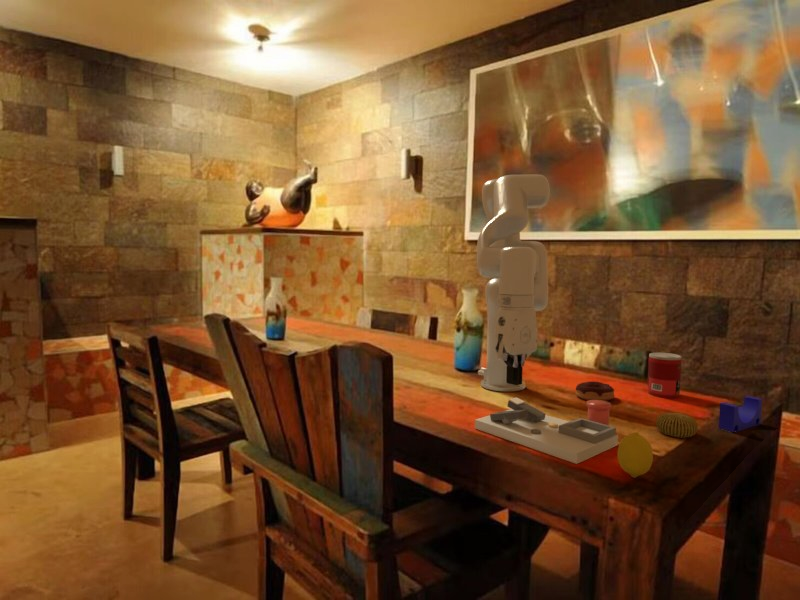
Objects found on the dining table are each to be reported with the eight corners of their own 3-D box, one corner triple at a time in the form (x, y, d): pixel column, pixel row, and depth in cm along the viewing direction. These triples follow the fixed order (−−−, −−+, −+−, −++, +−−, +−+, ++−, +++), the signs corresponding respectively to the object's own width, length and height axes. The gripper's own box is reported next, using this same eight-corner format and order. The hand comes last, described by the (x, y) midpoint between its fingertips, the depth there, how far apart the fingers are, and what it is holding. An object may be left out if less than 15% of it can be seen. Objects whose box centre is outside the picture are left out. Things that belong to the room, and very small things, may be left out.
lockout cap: (581, 429, 115) (582, 402, 115) (593, 424, 118) (594, 398, 118) (602, 435, 111) (603, 407, 111) (614, 430, 115) (615, 403, 114)
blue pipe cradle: (739, 419, 123) (741, 394, 123) (760, 424, 119) (762, 399, 119) (711, 427, 117) (713, 401, 116) (732, 433, 113) (734, 406, 113)
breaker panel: (474, 428, 115) (475, 412, 115) (517, 415, 125) (517, 400, 125) (576, 463, 96) (577, 445, 96) (617, 445, 106) (618, 428, 105)
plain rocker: (491, 425, 114) (489, 414, 114) (500, 422, 116) (498, 411, 116) (520, 423, 108) (518, 412, 108) (529, 420, 110) (527, 409, 110)
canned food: (683, 399, 140) (685, 358, 139) (651, 397, 141) (653, 357, 140) (674, 391, 147) (676, 353, 146) (644, 390, 149) (645, 351, 148)
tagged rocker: (506, 410, 118) (508, 399, 118) (514, 407, 120) (517, 397, 120) (535, 426, 113) (537, 415, 112) (543, 423, 114) (546, 412, 114)
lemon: (610, 471, 93) (612, 427, 92) (640, 470, 93) (642, 426, 93) (626, 485, 88) (628, 438, 87) (658, 484, 88) (660, 437, 87)
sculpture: (688, 424, 107) (649, 414, 113) (687, 443, 107) (648, 432, 114) (705, 416, 112) (666, 408, 118) (704, 435, 112) (666, 425, 118)
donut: (597, 392, 147) (598, 378, 147) (622, 401, 138) (623, 386, 137) (567, 394, 144) (567, 380, 144) (590, 404, 135) (591, 389, 134)
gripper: (508, 305, 109) (506, 392, 110) (550, 302, 118) (548, 382, 120) (480, 302, 115) (479, 385, 116) (523, 300, 124) (521, 376, 126)
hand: (514, 383), depth 118 cm, fingers closed
